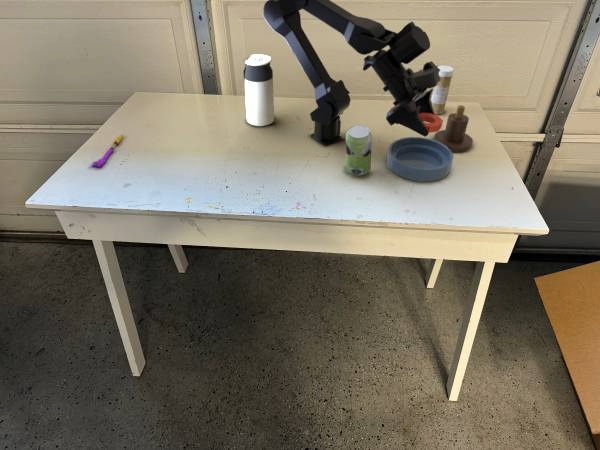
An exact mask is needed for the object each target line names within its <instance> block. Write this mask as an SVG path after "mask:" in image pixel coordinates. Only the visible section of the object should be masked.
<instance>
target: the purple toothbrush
mask: <svg viewBox="0 0 600 450" xmlns="http://www.w3.org/2000/svg"><path fill="white" fill-rule="evenodd" d="M123 137H124V134H121V135H118V137H117V138H116V139H115V140H114V142H113V144H114V145H113V146H111V147H109V148H108V150H107V151H106V152H105V153H104V155H103V156H102V157H101V158H99V159H97V161H93V163H92V165H91V167H92V168H95V167H97V168H102V167H103V165H104V164H105V163H106V161H107V159H108V158H109V157H110V155H111V154H112V153H113V152H114V149H115V147H116V146H119V145H120V143H121V141H122V139H123Z"/></svg>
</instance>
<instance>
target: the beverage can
mask: <svg viewBox="0 0 600 450" xmlns="http://www.w3.org/2000/svg"><path fill="white" fill-rule="evenodd" d="M372 143H373V135H372V132H371V131H370V128H369V127H368V126H366V125H363V124H356V125H353V126H351V127H349V129H348V131H347V132H346V133H345V169H346V171H347V173H349V174H350V175H353V176H364V175H366V174H368V173H369V172H370V171H371V168H372V147H373V144H372Z"/></svg>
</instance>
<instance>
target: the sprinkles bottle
mask: <svg viewBox="0 0 600 450" xmlns="http://www.w3.org/2000/svg"><path fill="white" fill-rule="evenodd" d="M437 67H438V68H439V69H440V72H439V77H440V82H438V83H437V85H436V86H435V87H433V91H432V95H431V103H432V107H433V110H434V113H435V115H442V114H444V113H445V108H446V104H447V100H448V96H449V91H450V87H451V82H452V78H453V75H454V70H455V69H454V67H452V66H449V65H439V66H437Z"/></svg>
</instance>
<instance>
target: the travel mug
mask: <svg viewBox="0 0 600 450" xmlns="http://www.w3.org/2000/svg"><path fill="white" fill-rule="evenodd" d="M271 62H272V58H271V56H269V55H266V54H259V53H257V54H250V55H247V56H245V57H243V63H244V66H245V67H244V69H243V84H244V86H243V87H244V97H245V110H246V122H247V123H248V124H250V125H252V126H255V127H264V126H268V125H269V126H270V124H273V123H274V121H275V104H274V103H275V102H274V75H273V74H274V71H273V68H272V67H271Z"/></svg>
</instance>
